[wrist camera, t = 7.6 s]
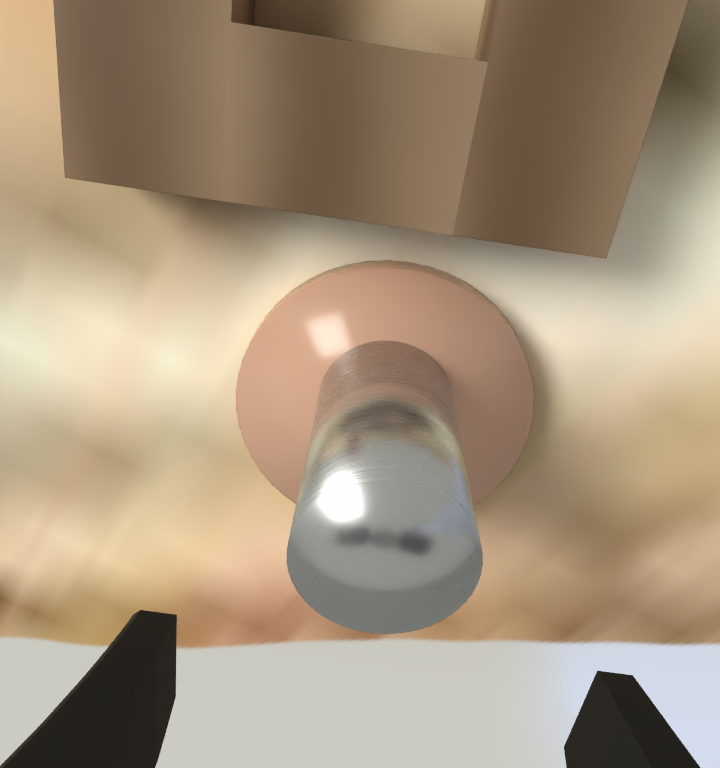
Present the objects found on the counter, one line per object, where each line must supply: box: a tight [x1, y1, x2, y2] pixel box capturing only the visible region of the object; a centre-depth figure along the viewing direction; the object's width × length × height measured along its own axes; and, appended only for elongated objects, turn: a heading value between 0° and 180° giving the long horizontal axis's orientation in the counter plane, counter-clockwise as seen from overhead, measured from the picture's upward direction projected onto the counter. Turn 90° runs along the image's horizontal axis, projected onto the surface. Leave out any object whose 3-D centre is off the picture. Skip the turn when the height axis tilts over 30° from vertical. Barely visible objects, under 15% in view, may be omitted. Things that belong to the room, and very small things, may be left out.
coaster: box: [236, 260, 534, 505], centre depth 20 cm, size 9×9×1 cm
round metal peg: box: [287, 340, 483, 634], centre depth 16 cm, size 4×4×7 cm
